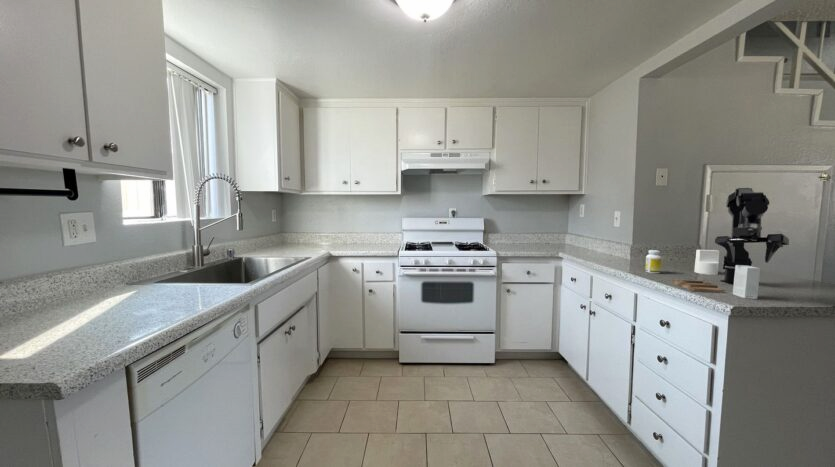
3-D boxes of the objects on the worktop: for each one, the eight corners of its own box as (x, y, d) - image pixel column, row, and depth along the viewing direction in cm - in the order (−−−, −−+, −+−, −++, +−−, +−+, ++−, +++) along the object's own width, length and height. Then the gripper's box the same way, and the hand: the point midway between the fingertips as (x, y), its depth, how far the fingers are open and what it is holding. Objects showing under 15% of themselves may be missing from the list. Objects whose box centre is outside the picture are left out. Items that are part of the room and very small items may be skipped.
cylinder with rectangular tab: (701, 274, 160) (703, 251, 159) (690, 270, 168) (692, 248, 167) (722, 275, 158) (724, 251, 156) (710, 271, 166) (712, 249, 165)
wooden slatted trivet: (672, 283, 142) (672, 278, 142) (699, 284, 140) (700, 279, 140) (693, 291, 128) (694, 286, 128) (724, 292, 126) (725, 287, 126)
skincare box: (757, 299, 118) (761, 268, 117) (744, 298, 119) (747, 267, 118) (744, 294, 124) (747, 265, 123) (731, 294, 125) (734, 264, 124)
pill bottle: (663, 273, 161) (665, 251, 160) (651, 273, 161) (652, 251, 160) (654, 271, 167) (655, 249, 166) (642, 271, 167) (643, 249, 166)
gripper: (709, 219, 126) (707, 257, 123) (777, 214, 109) (777, 257, 106) (722, 227, 130) (720, 263, 127) (789, 223, 114) (789, 264, 111)
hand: (749, 262), depth 118 cm, fingers open, 9 cm apart
